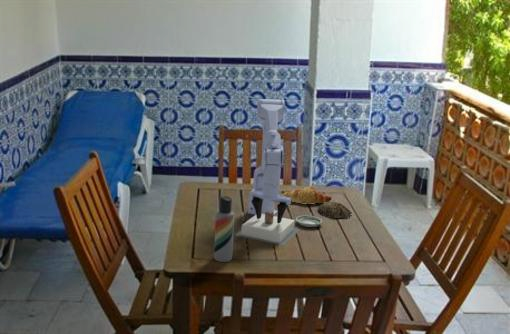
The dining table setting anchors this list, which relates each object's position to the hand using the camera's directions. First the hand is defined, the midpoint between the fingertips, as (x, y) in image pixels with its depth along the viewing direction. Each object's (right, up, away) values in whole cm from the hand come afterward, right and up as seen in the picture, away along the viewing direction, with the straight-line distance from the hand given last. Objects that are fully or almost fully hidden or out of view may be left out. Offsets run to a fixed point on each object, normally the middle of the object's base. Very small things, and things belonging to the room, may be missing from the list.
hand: (268, 220), depth 192 cm
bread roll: (+27, 0, +25) cm, 37 cm away
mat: (0, -5, +1) cm, 5 cm away
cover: (0, -4, +1) cm, 4 cm away
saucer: (+15, -3, +11) cm, 19 cm away
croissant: (+16, +4, +38) cm, 41 cm away
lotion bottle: (-15, -10, -21) cm, 28 cm away
